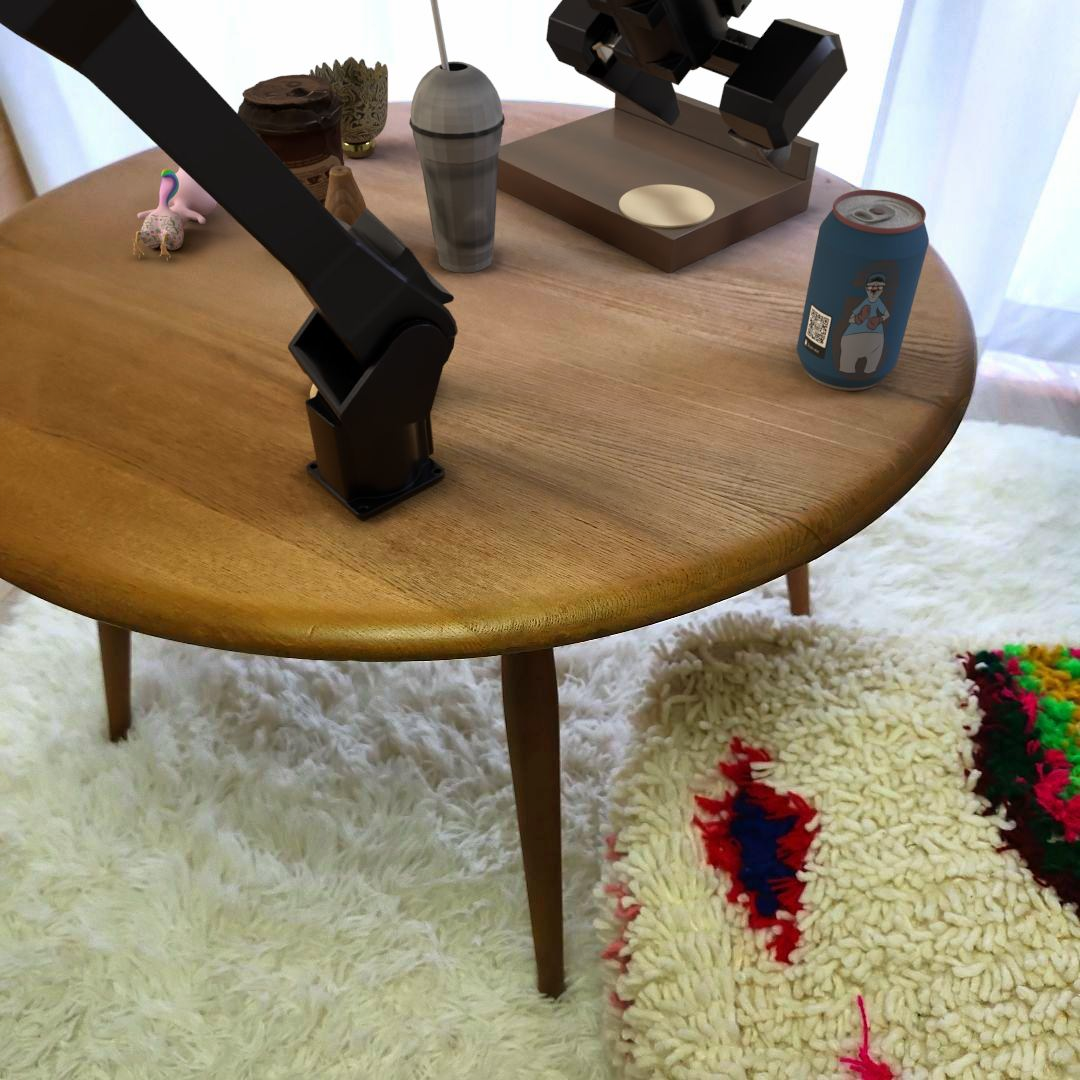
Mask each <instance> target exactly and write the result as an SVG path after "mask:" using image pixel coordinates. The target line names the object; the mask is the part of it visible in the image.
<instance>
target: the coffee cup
mask: <svg viewBox="0 0 1080 1080" xmlns="http://www.w3.org/2000/svg"><path fill="white" fill-rule="evenodd" d="M242 97H243V100H242V102H241V103H240V104H239V106H238V109H237V112H236V113H237V114H238V115H239V116H240V117H241V118H242V119H243V120H244V121H245V122H246V123H247V124H248V125H249V126H250V128H251V129H252V130H253V131H254V132H255V133H256V134H257V135H258V136H259V137H260V138H261V139H262V140H263V141H264V143H265V144H266V145H267V146H268V147H269V148H270V149H271V150H272V151H273V152H274V153H275V154H276V155H277V156H278V158H279V159H280V160H281V161H282V162H283V163H284V164H285V165H286V166H287V167H288V168H289V169H290V170H291V172H292V173H293V174H294V175H295V176H296V177H297V178H298V179H299V180H300V181H301V182H302V183H303V184H304V185H305V187H306V188H307V189H308V190H309V191H310V192H311V193H312V194H313V195H314V196H315V197H316V198H317V199H318V200H319V202H320V203H321V204H322V205H323V206H324V207H325V202H326V195H327V190H328V185H329V177H330V169H331V168H333V167H335V166H345V159H344V154H343V149H342V138H341V118H342V114H343V107H344V106H343V105H344V101H342V99H341V97H340V96H339V95H338V94H337V93H336V92H334V91H332V88H331V81H329V80H328V78H326V77H321V76H312V75H311V74H310V75H309V74H305V73H302V74H287V75H278V76H276V77H273V78H269V79H265V80H261V81H259V82H257V83H255V84H254V85H253V86H250V87H248V88H246V89H244V90H243V92H242Z"/></svg>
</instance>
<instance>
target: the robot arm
mask: <svg viewBox="0 0 1080 1080" xmlns="http://www.w3.org/2000/svg"><path fill="white" fill-rule="evenodd" d="M752 1H753V0H561V1H560V2H559V3H558V5H556V7H555V8H554V10H553V11H552V12H551V14H550V15H549V16H548V21H547V30H546V37H545V41H546V42H547V44H548V46H549V47H550V49H551V51H552V53H553V54H554V56H555V58H556V59H557V61H558V62H560V63H563V64H564V65H567V66H569V67H571V68H573V69H574V70H575V71H576V73H578V74H579V75H582V76H583V77H586V78H588V79H589V80H591V81H593V82H595V83H596V84H598V85H599V86H601V87H603V88H604V89H606V90H608V91H610V92H611V93H614V95H615V94H617V95H619V96H620V97H622V98H624V99H625V100H627V101H629V102H631V103H632V104H634V105H636V106H637V107H639V108H641V109H642V110H644V111H646V112H647V113H649V114H651V115H652V116H654V117H656V118H657V119H659V120H661V121H662V122H664V123H666V124H668V125H673V124H674V123H675V121H676V120H677V119H678V117H679V116H680V113H681V112H680V108H679V104H678V100H677V96H676V93H675V92H676V90H675V88H674V85H676V86H680V84H681V83H682V82H683V80H684V79H685V78H686V77H687V75H688V74H689V72H691V71H696V70H698V69H699V68H701V69H703V70H707V71H708V72H712V73H715V74H717V75H720V76H723V77H725V78H728V79H727V80H726V81H725V83H724V84H723V88H722V93H721V97H720V102H719V106H718V107H719V111H720V113H721V116H722V118H723V120H724V122H725V123H726V124H727V125H728V126H729V127H730V128H731V129H730V130H729V131H728V135H729V136H731V137H732V138H733V139H734V140H736V141H737V142H738V143H739V144H741V145H742V146H743V147H745V148H746V149H747V150H748V151H750V152H751V153H752V154H754V155H755V156H756V157H757V158H759V159H760V160H761V161H762V162H764V163H765V164H766V165H768V166H769V167H771V168H772V169H774V170H776V171H780V170H781V169H782V168H783V166H784V165H785V164H786V163H787V161H788V160H789V157H790V151H791V145H792V141H793V140H794V138H795V137H796V136H799V133H800V132H801V131H802V130H803V128H804V127H805V126H806V124H808V123H809V121H810V120H811V118H812V117H813V116H814V114H815V113H816V112H817V110H818V109H819V108H820V106H821V105H822V104H823V103H824V101H825V100H826V99H827V98H828V96H830V94H831V93H832V91H833V90H834V89H835V87H836V86H837V85H838V83H839V82H840V81H841V80H842V79H843V77H844V76H845V75H846V73H848V65H847V59H846V55H845V52H844V48H843V47H844V46H843V43H842V40H841V37H840V34H839V33H836V32H833V31H830V30H827V29H824V28H820V27H817V26H815V25H811V24H808V23H805V22H801V21H799V20H796V19H792V18H776V19H774V20H773V21H772V22H771V23H770V25H769V26H768V27H767V28H766V30H765V31H764V32H763V33H762V35H761V36H760V37H759V36H756V35H753V34H750V33H748V32H744V31H741V30H739V29H735V28H733V27H730V26H729V24H728V23H729V21H730V19H732V18H736V19H739V18H740V17H741V16H742V15H743V13H744V12H745V11H746V10H747V8H748V7H749V5H750V4H751V3H752ZM0 25H1V26H3V27H5V28H6V29H8V30H9V31H11V32H12V33H13V34H15V35H16V36H18V37H20V38H21V39H23V40H25V41H26V42H28V43H30V44H31V45H33V46H35V47H37V48H39V49H40V50H41V51H43V52H45V53H46V54H48V55H50V56H51V57H53V58H55V59H57V60H58V61H59V62H61V63H63V64H64V65H66V66H68V67H69V68H71V69H73V70H75V71H76V72H77V73H79V74H80V75H81V76H83V77H84V78H86V79H87V80H88V81H89V82H90V83H92V84H93V86H94V87H96V88H97V89H98V90H99V91H100V92H101V93H102V94H103V95H104V96H105V97H106V98H107V99H108V100H109V101H110V102H111V103H112V104H113V105H115V106H116V107H117V108H118V109H119V110H120V111H121V112H122V113H123V114H124V115H125V116H126V117H127V118H128V119H129V120H130V121H131V122H132V123H134V125H136V127H138V128H139V129H140V130H141V131H142V132H143V133H144V134H145V135H146V136H147V137H148V138H149V139H150V140H151V141H152V142H153V143H154V144H156V146H158V147H159V148H160V150H162V152H164V153H165V154H166V155H167V156H168V158H170V159H171V160H172V161H173V162H174V163H175V164H176V165H177V166H179V168H180V167H181V168H182V169H183V170H184V171H185V172H186V173H187V174H188V175H189V176H190V177H191V178H192V179H193V180H194V181H195V182H196V183H197V184H198V185H199V186H201V187H202V188H203V189H204V190H205V191H206V192H207V193H208V194H209V195H210V196H211V197H212V198H213V199H214V200H215V201H216V202H217V204H218V205H219V206H220V207H221V208H222V209H223V210H224V211H225V212H226V213H228V215H230V216H231V217H232V218H233V219H234V220H235V222H236V223H238V224H239V225H240V226H241V227H242V228H243V229H244V230H245V231H246V232H247V233H248V234H250V235H251V236H252V238H253V239H255V240H256V241H257V242H258V243H259V244H260V245H261V246H262V247H263V248H264V249H265V250H266V251H267V252H268V253H269V254H270V255H272V257H274V259H276V260H277V261H278V262H279V264H281V265H282V266H283V267H284V268H285V269H286V270H287V271H288V272H289V273H290V274H291V276H292V278H293V279H294V281H295V282H296V284H297V285H298V287H299V288H300V290H301V291H302V292H303V294H304V296H305V297H306V298H307V299H308V301H309V302H310V303H311V305H312V306H313V309H312V310H311V312H310V313H309V314H308V316H307V317H306V319H305V320H304V322H303V323H302V324H301V326H300V328H298V330H297V332H296V333H295V334H294V335H293V337H292V338H291V340H290V341H289V343H288V345H287V350H288V352H289V354H290V355H291V356H292V358H293V359H294V360H295V362H296V363H297V365H298V366H299V368H300V369H301V370H302V373H304V374H305V375H306V376H307V377H308V378H309V380H310V381H311V382H312V385H313V384H314V385H315V386H316V388H317V389H318V391H317V393H316V396H315V397H313V398H311V399H310V398H308V399H307V400H305V402H304V404H305V409H306V413H307V421H308V423H309V424H308V425H309V429H310V434H311V440H312V444H313V450H314V456H315V460H313V461H311V462H309V463H307V464H306V466H305V469H306V473H307V475H308V476H309V478H311V479H312V480H313V481H314V482H316V483H317V485H319V486H320V487H321V488H322V489H323V490H325V491H326V492H327V493H328V494H329V495H330V496H331V497H333V498H334V499H335V500H336V501H337V502H338V503H339V504H341V506H342V507H344V508H345V509H346V510H347V511H349V513H351V514H352V515H353V516H354V517H355V518H356V519H358V520H361V521H363V520H368V519H370V518H372V517H374V516H376V515H379V514H380V513H382V512H384V511H385V510H388V509H389V508H391V507H393V506H396V505H397V504H400V503H401V502H403V501H404V500H406V499H409V498H410V497H412V496H414V495H416V494H418V493H420V492H422V491H424V490H426V489H428V488H430V487H431V486H433V485H436V484H437V483H440V482H441V481H443V480H444V479H445V478H446V471H445V468H444V467H443V466H441V465H440V464H439V463H437V462H436V461H435V460H434V459H433V458H431V456H433V455H434V452H435V444H434V435H433V424H432V423H433V422H432V414H431V413H432V410H433V405H434V402H435V400H436V399H435V398H436V395H437V391H438V388H439V384H440V380H441V376H442V373H443V369H444V366H445V365H446V364H447V362H448V361H449V359H450V357H451V354H452V352H453V350H454V347H455V343H456V341H455V340H456V336H457V335H458V332H459V330H458V325H457V321H456V319H455V318H454V316H453V314H452V312H451V311H450V309H448V308H447V306H445V304H449V303H452V302H454V300H455V296H454V295H453V294H452V293H451V292H450V291H449V290H448V289H447V288H445V287H444V286H443V284H441V283H440V282H439V281H438V280H437V279H436V278H435V277H434V276H433V275H432V274H431V273H430V272H429V270H427V269H426V268H425V267H424V266H423V265H422V264H421V262H420V261H419V259H418V258H417V256H416V254H415V253H414V252H413V251H412V249H411V248H410V247H409V246H408V245H407V244H406V243H404V242H403V240H401V239H400V237H398V236H397V235H396V233H394V232H393V231H392V230H391V229H390V228H389V227H388V226H387V225H386V224H385V223H384V222H383V221H381V220H380V219H379V218H378V217H377V216H376V214H374V213H373V211H371V210H370V209H369V208H368V207H366V208H365V209H364V211H363V212H362V213H361V215H360V216H359V217H358V219H357V220H356V221H355V223H354V224H353V226H350V225H349V224H347V223H346V222H344V221H342V220H341V219H339V218H337V217H336V216H334V215H333V214H331V213H330V212H329V211H328V210H327V209H326V208H325V207H324V206H323V205H322V204H321V203H320V202H319V200H318V199H317V198H316V197H315V196H314V195H313V194H312V193H311V192H310V191H309V190H308V189H307V188H306V187H305V185H304V184H303V183H302V182H301V181H300V180H299V179H298V178H297V177H296V176H295V175H294V174H293V173H292V172H291V170H290V169H289V168H288V167H287V166H286V165H285V164H284V163H283V162H282V161H281V160H280V159H279V158H278V156H277V155H276V154H275V153H274V152H273V151H272V150H271V149H270V148H269V147H268V146H267V145H266V144H265V143H264V141H263V140H262V139H261V138H260V137H259V136H258V135H257V134H256V133H255V132H254V131H253V130H252V129H251V128H250V126H249V125H248V124H247V123H246V122H245V121H244V120H243V119H242V118H241V117H240V116H239V115H238V114H237V113H238V112H236V110H235V109H234V108H233V107H232V106H231V105H230V104H229V103H228V102H227V101H226V99H225V98H224V97H223V96H222V95H221V94H220V93H219V92H218V91H217V90H216V89H215V88H214V87H213V85H212V84H211V83H209V81H208V80H207V79H206V78H205V77H204V76H203V75H202V74H201V72H199V71H198V69H197V68H196V67H195V66H194V65H193V64H192V63H191V62H190V61H189V60H188V59H187V58H186V57H185V56H184V54H183V53H181V51H180V50H179V49H178V48H177V47H176V46H175V45H174V44H173V42H171V40H170V39H168V37H167V36H166V35H165V34H164V33H163V32H162V30H160V29H159V28H158V27H157V26H156V24H155V23H153V21H152V20H151V19H150V17H148V16H147V14H146V13H145V11H144V10H143V8H142V7H141V6H140V4H139V2H138V1H137V0H0ZM673 84H674V85H673Z"/></svg>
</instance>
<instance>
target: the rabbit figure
mask: <svg viewBox="0 0 1080 1080" xmlns="http://www.w3.org/2000/svg"><path fill="white" fill-rule="evenodd" d="M160 177H161V179H160V180H161V181H160V186H159V193H158V194H159V195H158V197H159V203H158V206H157V208H156V209H149V210H146V211H141V212H138V213H137V215H136V217H137V218H138V219H139V220H143V223H142V227H141V230H137V231H136V232H135V239H133V238H132V239H131V241H132V242H133V256H134V255H136V254H138V259H141V254H142V255H143V256H145V253H144V252H143V251H142V249H141V248H140V244H139V242H140V241H141V242H142V243H143V245H145V247H147V248H149V249H157V248H158V247H159V248H160V250H161V251H160V254H159V257H161V256H163V255H164V256H165V257H166V261H167V262H169V258H171V254H170V252H168V250H171V251H175V250H178V249H179V248H181V247H182V246H183V245H182V244H183V242H184V237H185V236H184V235H185V233H184V227H185V226H186V225H187V223H188V222H189V221H198V223H199V224H201V225H205V224H206V222H207V221H206V218H205V217H204V216H207V215H209V214H210V213H212V212H213V210H214V209H215V208H216V206H217V204H218V203H217V202H216V201H215V200H214V199H213V198H212V197H211V196H210V195H209V194H208V193H207V192H206V191H205V190H204V189H203V188H202V187H201V186H199V185H198V184H197V183H196V182H195V181H194V180H193V179H192V178H191V177H190V176H189V175H188V174H187V173H186V172H185V171H184V170H183V169H182V168H181V167H180V166H179V168H178V171H176V172H174V171H173V170H171V169H170V168H165V169H163V170H162V171H161V173H160Z"/></svg>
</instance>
